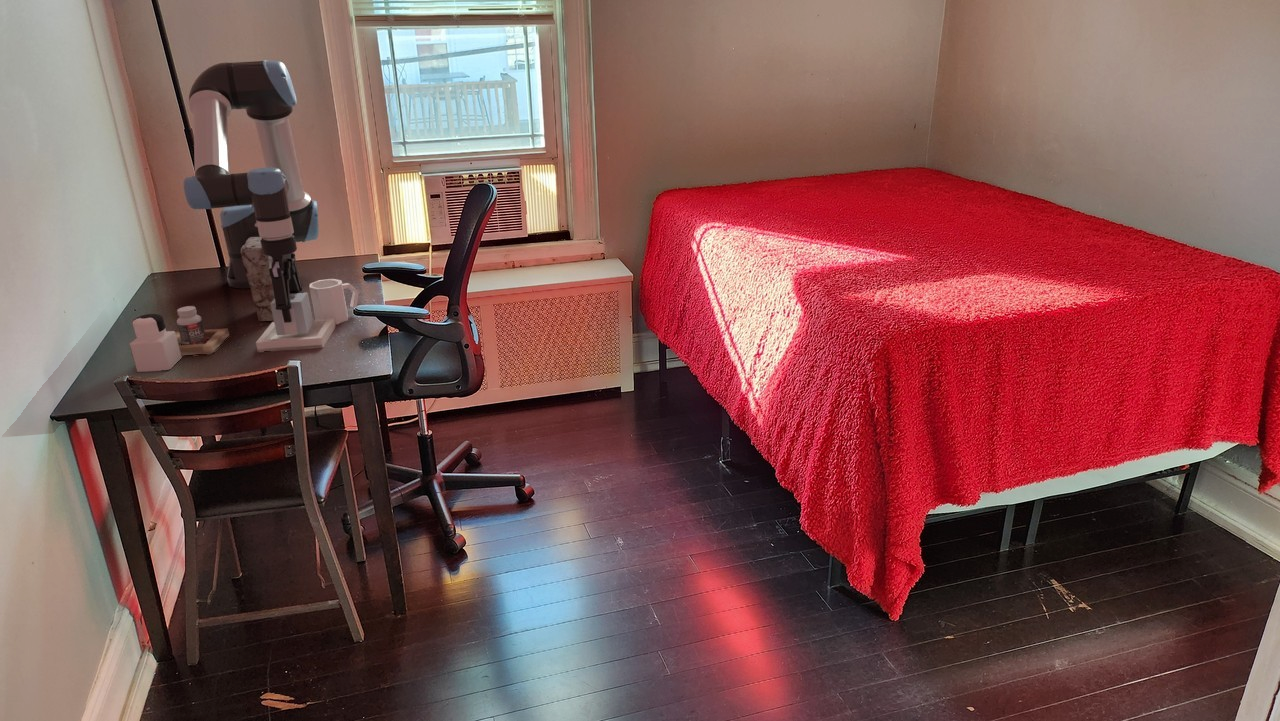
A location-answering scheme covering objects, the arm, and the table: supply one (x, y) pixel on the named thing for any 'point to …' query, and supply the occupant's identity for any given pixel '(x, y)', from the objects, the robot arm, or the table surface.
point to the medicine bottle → (154, 344)
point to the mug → (331, 299)
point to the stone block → (259, 277)
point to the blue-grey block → (295, 313)
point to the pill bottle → (190, 326)
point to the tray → (297, 337)
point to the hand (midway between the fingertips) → (295, 327)
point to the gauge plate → (214, 341)
